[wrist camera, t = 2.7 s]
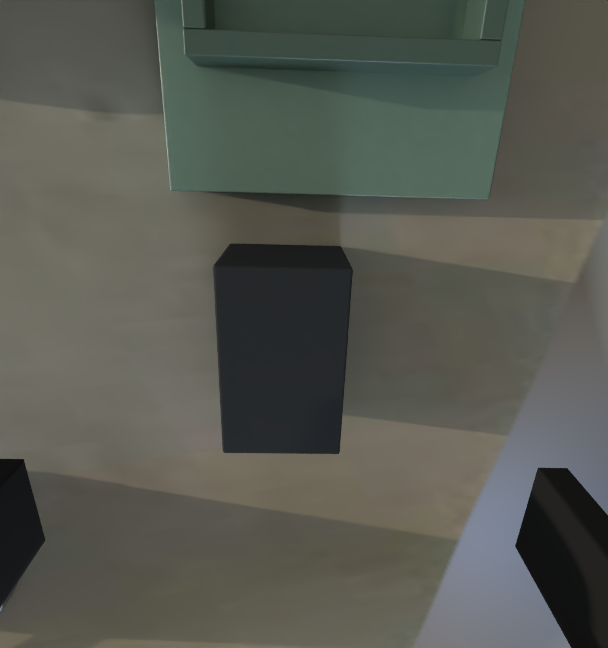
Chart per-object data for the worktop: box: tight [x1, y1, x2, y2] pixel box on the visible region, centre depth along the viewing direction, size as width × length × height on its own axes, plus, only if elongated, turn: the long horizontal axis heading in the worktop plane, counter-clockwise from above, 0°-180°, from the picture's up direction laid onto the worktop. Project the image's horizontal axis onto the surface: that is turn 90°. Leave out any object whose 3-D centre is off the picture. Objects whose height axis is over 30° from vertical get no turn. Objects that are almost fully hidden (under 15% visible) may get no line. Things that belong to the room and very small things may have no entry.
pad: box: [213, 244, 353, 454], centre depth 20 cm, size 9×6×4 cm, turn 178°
